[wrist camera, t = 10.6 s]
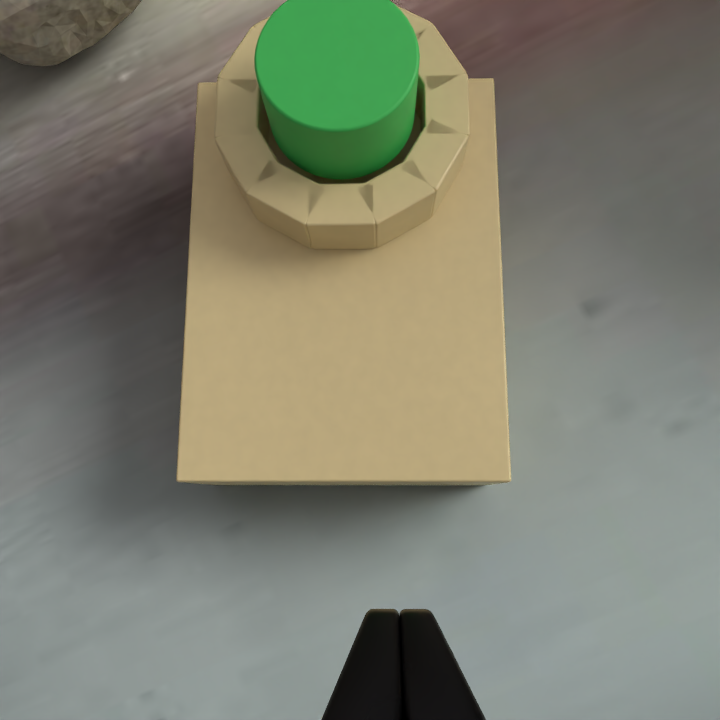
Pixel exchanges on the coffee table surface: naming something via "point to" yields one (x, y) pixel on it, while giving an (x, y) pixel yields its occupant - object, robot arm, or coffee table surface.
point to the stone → (56, 27)
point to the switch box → (345, 297)
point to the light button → (339, 83)
